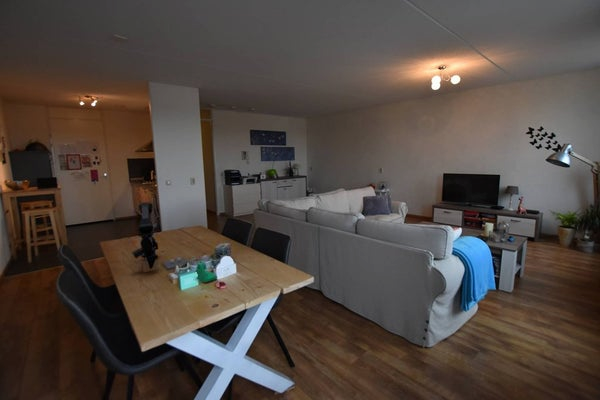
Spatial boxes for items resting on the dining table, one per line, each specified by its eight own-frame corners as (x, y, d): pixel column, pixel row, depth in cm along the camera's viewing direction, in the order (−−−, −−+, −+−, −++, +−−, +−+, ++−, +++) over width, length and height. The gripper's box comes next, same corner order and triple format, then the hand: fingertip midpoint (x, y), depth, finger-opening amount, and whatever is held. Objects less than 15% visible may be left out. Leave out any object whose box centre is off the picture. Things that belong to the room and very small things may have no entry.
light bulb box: (224, 263, 185) (223, 248, 184) (215, 263, 187) (214, 247, 185) (231, 258, 196) (230, 243, 194) (222, 257, 197) (221, 242, 195)
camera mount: (217, 279, 161) (216, 262, 160) (205, 284, 156) (204, 266, 154) (207, 274, 170) (206, 257, 168) (195, 278, 164) (193, 261, 163)
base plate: (161, 264, 187) (161, 258, 186) (183, 258, 196) (182, 253, 195) (168, 270, 176) (167, 264, 176) (190, 264, 186) (190, 259, 185)
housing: (142, 270, 177) (140, 259, 176) (155, 266, 182) (154, 256, 181) (144, 272, 174) (142, 261, 173) (158, 269, 179) (157, 258, 178)
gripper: (129, 242, 177) (132, 266, 180) (136, 249, 163) (138, 275, 166) (148, 239, 184) (151, 262, 187) (156, 245, 170) (159, 270, 173)
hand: (149, 267), depth 178 cm, fingers closed on housing, 5 cm apart
